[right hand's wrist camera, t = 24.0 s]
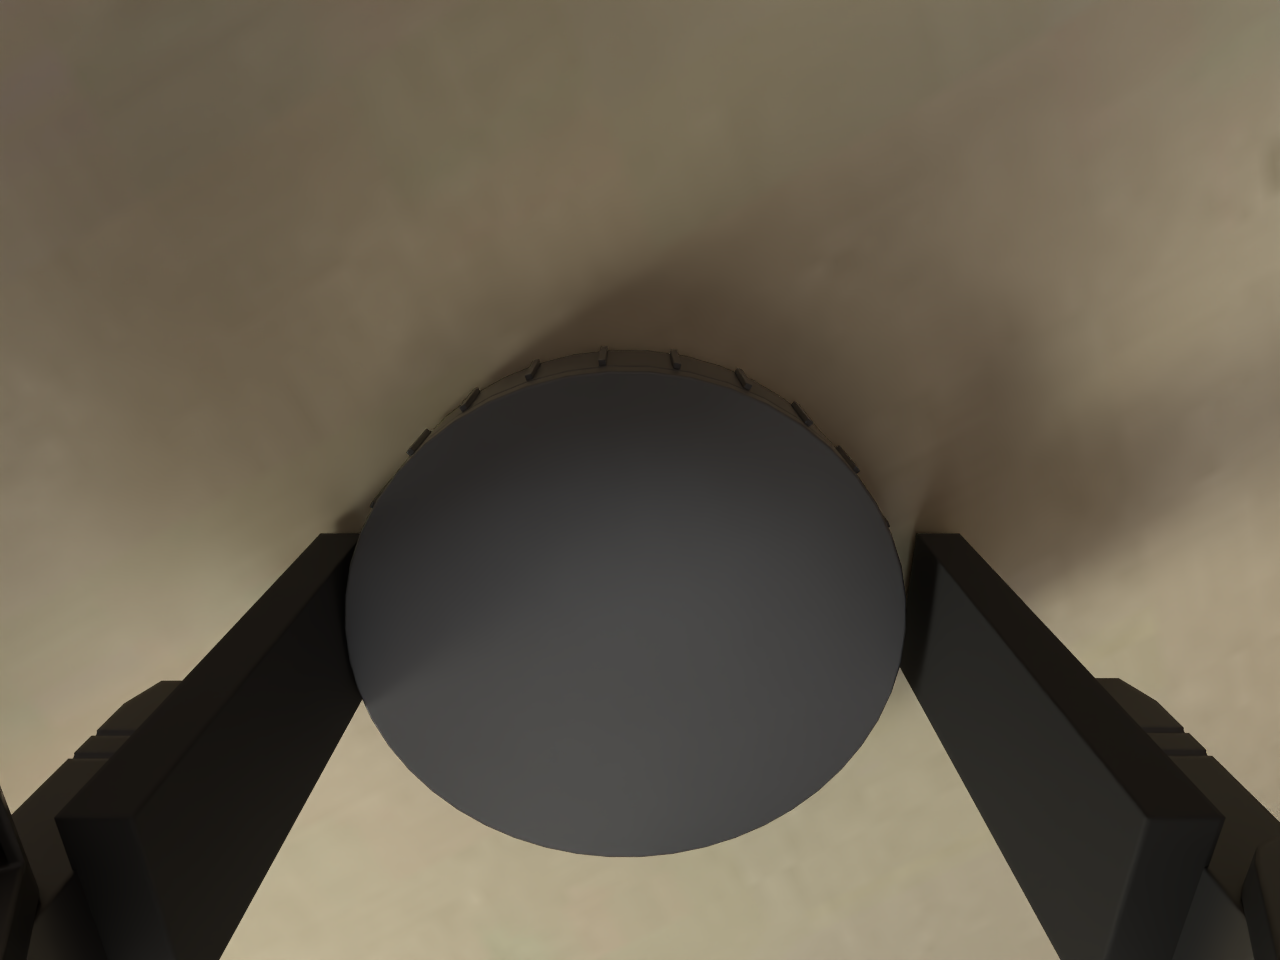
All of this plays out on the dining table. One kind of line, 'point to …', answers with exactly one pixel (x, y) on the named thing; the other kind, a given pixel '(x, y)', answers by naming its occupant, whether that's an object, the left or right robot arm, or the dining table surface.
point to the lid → (625, 606)
